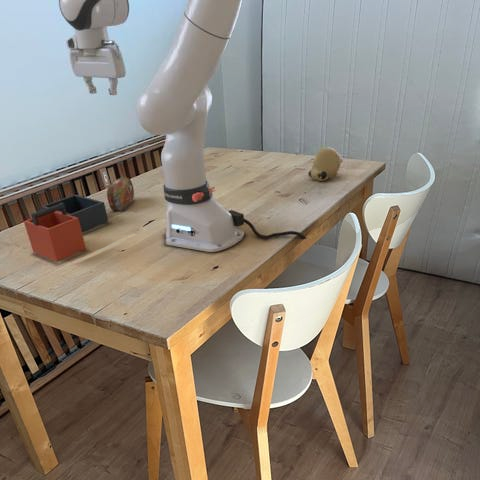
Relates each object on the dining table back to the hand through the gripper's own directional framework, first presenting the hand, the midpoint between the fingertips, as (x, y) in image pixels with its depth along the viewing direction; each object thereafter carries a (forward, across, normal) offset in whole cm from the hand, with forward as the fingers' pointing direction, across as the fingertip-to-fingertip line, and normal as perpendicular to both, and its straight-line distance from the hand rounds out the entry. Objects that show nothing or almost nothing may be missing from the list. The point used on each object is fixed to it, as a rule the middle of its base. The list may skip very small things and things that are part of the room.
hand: (103, 94), depth 144 cm
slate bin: (+33, -4, +21) cm, 40 cm away
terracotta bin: (+33, -16, +36) cm, 51 cm away
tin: (+33, -3, +3) cm, 34 cm away
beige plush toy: (+33, -46, -53) cm, 78 cm away
